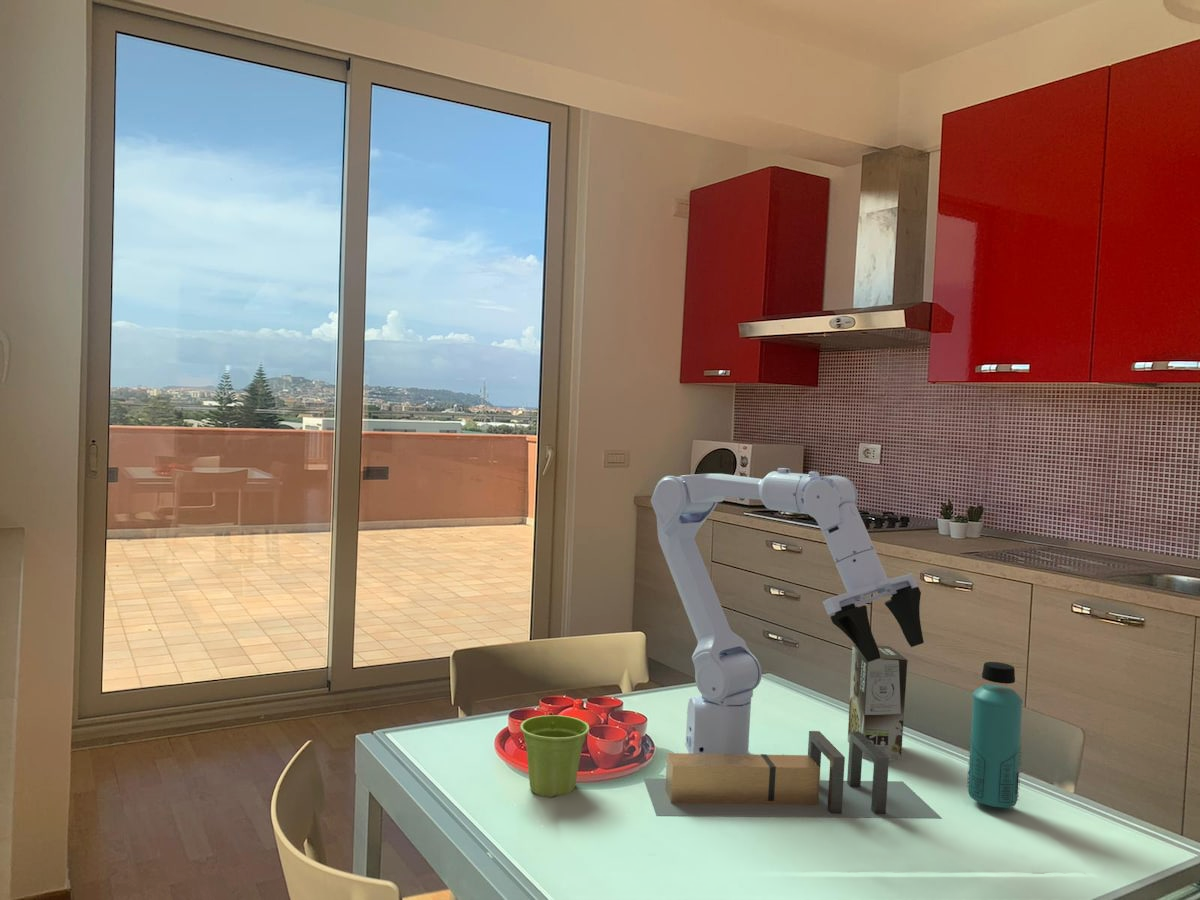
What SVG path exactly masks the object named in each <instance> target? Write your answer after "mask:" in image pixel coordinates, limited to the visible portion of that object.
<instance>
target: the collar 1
mask: <svg viewBox="0 0 1200 900" xmlns="http://www.w3.org/2000/svg"><path fill="white" fill-rule="evenodd" d="M807 744H808V746H807V755H809V756H810V757H811V758H812V759H813V760H814V761H815V763H816V764H817V765H818V766H819V767H820V768H821V762H822V754H823V755H824V756H825V758H827V760H828V761H829V773H828V774H829V777H828V780H829V790H828V807H827V810H828V811H829V812H830V814H842V799H843V782H844V781H845V779H844V778H845V765H846V764H845V761H846V757H845V756H844V755H843V753H841V751H840V750H838V749H837V747H835V745H834V744H833V743H831V742H830V740H829V739H828V738H827V737H826V736H825V735H824V734H823V733H822V732H821V731H820V730H809V731H808V743H807ZM819 782H820V780H819Z"/></svg>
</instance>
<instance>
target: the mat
mask: <svg viewBox="0 0 1200 900" xmlns="http://www.w3.org/2000/svg"><path fill="white" fill-rule="evenodd" d="M643 781H644V784H645V787H646V790H647V792H648V793H647V794H648V795H649V798H650V801H651V804H652V807H653V810H654V813H655V816H656V817H711V818H712V817H724V818H725V817H727V818H728V817H731V818H733V817H735V818H736V817H737V818H738V817H739V818H742V817H743V818H826V819H827V818H833V819H834V818H836V819H837V818H840V819H841V818H843V819H845V818H847V819H848V818H849V819H850V818H851V819H852V818H853V819H854V818H855V819H856V818H857V819H861V818H862V819H943V818H942V816H940V815H939V814H938V813H937V812H936V811H935V810H934V809H933V808H932V807H931V806H930V805H929V804H928V803H926V802H925V801H924V800H923V799H922V798H921V796H919V795H918V794H917V793H916V792H915V791H914V790H913V789H912V788H910V787H909V785H907V784H906V783H905V782H904V781H902V780H901V781H897V780H895V781H894V780H893V781H891V780H890V781H889V780H888V783H887V800H886V814H874V813H873V812H872V811H871V803H872V786H873V780H861V785H860V787H850V786H849V785H848V784H847V780H844V782H843V799H842V814H830V812H829V811H828V810H827V807H828V790H829V779H828V780H824V779H823V780H820V782H819V797H818V805H792V804H694V803H671V802H670V800H669V797H668V795H667V792H666V790H665V785H666V777H665V778H661V777H660V778H659V777H658V778H656V777H655V778H654V777H643Z"/></svg>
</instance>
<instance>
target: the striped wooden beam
mask: <svg viewBox="0 0 1200 900" xmlns="http://www.w3.org/2000/svg"><path fill="white" fill-rule="evenodd" d="M665 767H666V769H665V770H666V771H665V772H666V773H665V778H666V785H665V790H666V792H667V795H668V797H669V800H670V802H671V803H694V804H792V805H818V797H819V780H820V779H821V766H820V767H819V766H818V765H817V764H816V763H815V761H814V760H813V759H812V758H811V757H810V756H809V755H808V754H807V755H806V754H805V755H804V754H803V755H802V754H800V755H799V754H766V753H765V754H764V753H761V754H752V753H750V754H689V752H688V753H682V752H681V753H679V752H675V753H673V752H672V753H671V752H670V753H669V752H667V753H666V766H665Z"/></svg>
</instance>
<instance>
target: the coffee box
mask: <svg viewBox="0 0 1200 900" xmlns="http://www.w3.org/2000/svg"><path fill="white" fill-rule="evenodd" d="M851 646H852V647H851V648H852V651H851V652H852V653H851V664H850V665H851V667H850V686H849V687H850V689H849V705H848V706H849V709H848V726H847V727H848V728H847V742H848V743H849V741H850V732H861V733H862V734H863V735H864V736H865V737H866V738H868V739H869V740H870V741H871V742H872V743H873V744H874V745H875V746H876V747H877V748H879V749H880V750H881V751H882V752H883V753H884V754H885V755H886V756H887V757H889V761H902V754H903V753H902V751H903V737H904V736H903V734H904V717H905V703H906V701H905V700H906V692H907V691H906V690H907V687H906V686H907V673H908V672H907V671H908V662H909V660H908V658H906V657H905V656H903V655H902V654H901V653H899V652H898V651H896V650H895V649H894V648H893V647H891V646H890V645H877V647H878V650H879V653H880V658H879V659H876V660H873V661H870V662H867V660H866V659H865V657H864V656H863V654H862V653H861V652H860V650H859V649H858V648H857V646H856V645H855V644H853V645H851ZM863 759H866V760H871V759H870V758H869V757H868V756H867V755H866V754H865V753H864V752H863V751H862V760H863Z"/></svg>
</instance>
